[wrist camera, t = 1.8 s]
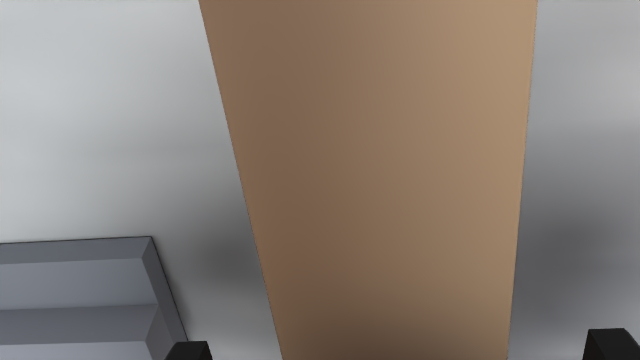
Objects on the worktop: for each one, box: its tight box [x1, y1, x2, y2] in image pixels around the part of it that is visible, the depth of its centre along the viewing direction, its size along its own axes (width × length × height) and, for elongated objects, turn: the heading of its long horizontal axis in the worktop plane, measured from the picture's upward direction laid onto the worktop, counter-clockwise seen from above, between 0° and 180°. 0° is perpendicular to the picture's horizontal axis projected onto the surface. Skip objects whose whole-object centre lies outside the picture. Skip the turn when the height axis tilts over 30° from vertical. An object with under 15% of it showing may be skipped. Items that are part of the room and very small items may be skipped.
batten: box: [199, 0, 538, 360], centre depth 13 cm, size 4×16×6 cm, turn 7°
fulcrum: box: [0, 237, 188, 360], centre depth 16 cm, size 7×5×2 cm
